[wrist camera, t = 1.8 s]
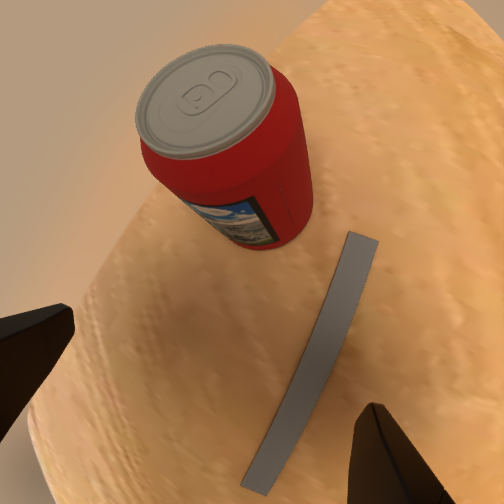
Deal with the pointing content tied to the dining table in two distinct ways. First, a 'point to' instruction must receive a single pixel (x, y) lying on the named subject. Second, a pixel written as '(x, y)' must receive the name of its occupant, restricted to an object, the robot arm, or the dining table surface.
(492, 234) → the dining table surface
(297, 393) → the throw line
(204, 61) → the beverage can
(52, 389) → the dining table surface
